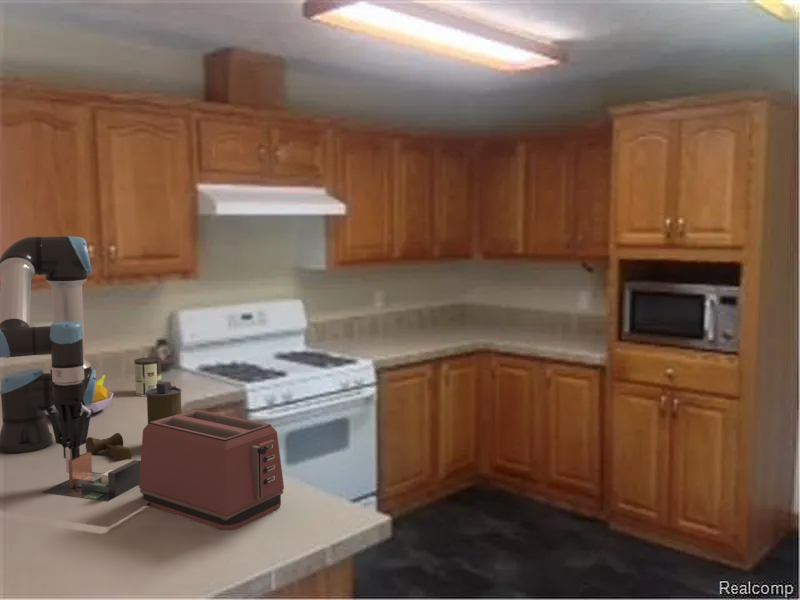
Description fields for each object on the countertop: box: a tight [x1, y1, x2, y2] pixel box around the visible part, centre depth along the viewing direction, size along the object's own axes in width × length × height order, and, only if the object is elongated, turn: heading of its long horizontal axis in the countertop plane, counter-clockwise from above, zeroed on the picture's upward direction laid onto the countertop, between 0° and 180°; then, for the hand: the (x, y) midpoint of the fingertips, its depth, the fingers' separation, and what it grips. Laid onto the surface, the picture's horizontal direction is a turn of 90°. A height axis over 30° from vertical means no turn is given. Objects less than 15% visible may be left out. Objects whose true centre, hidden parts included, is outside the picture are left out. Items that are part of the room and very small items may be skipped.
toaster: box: [138, 408, 285, 531], centre depth 172 cm, size 19×34×20 cm, turn 57°
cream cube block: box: [101, 469, 114, 484], centre depth 181 cm, size 4×4×4 cm
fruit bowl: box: [45, 374, 114, 416], centre depth 258 cm, size 28×27×11 cm
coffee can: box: [134, 356, 163, 397], centre depth 287 cm, size 10×10×14 cm
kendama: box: [85, 432, 133, 462], centre depth 210 cm, size 6×10×20 cm
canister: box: [146, 381, 183, 425], centre depth 219 cm, size 11×10×20 cm
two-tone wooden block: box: [68, 451, 102, 487], centre depth 183 cm, size 6×7×7 cm
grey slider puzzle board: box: [41, 459, 141, 503], centre depth 182 cm, size 20×16×7 cm
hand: (72, 470), depth 184 cm, fingers closed
